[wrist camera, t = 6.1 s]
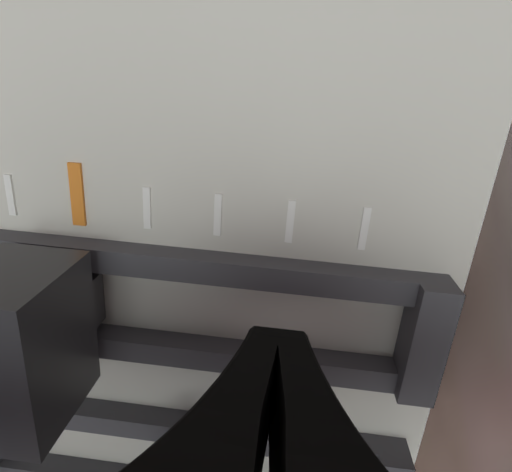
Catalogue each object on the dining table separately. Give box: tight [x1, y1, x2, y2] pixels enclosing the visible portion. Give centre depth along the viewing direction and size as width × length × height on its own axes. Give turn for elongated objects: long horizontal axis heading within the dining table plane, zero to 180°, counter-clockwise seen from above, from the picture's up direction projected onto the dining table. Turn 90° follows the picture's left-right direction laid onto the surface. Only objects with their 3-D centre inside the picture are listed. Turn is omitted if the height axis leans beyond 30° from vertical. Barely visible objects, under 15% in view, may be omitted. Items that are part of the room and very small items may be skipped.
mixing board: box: [0, 0, 512, 472], centre depth 12 cm, size 16×17×2 cm
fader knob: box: [0, 242, 106, 464], centre depth 11 cm, size 2×4×4 cm, turn 176°
